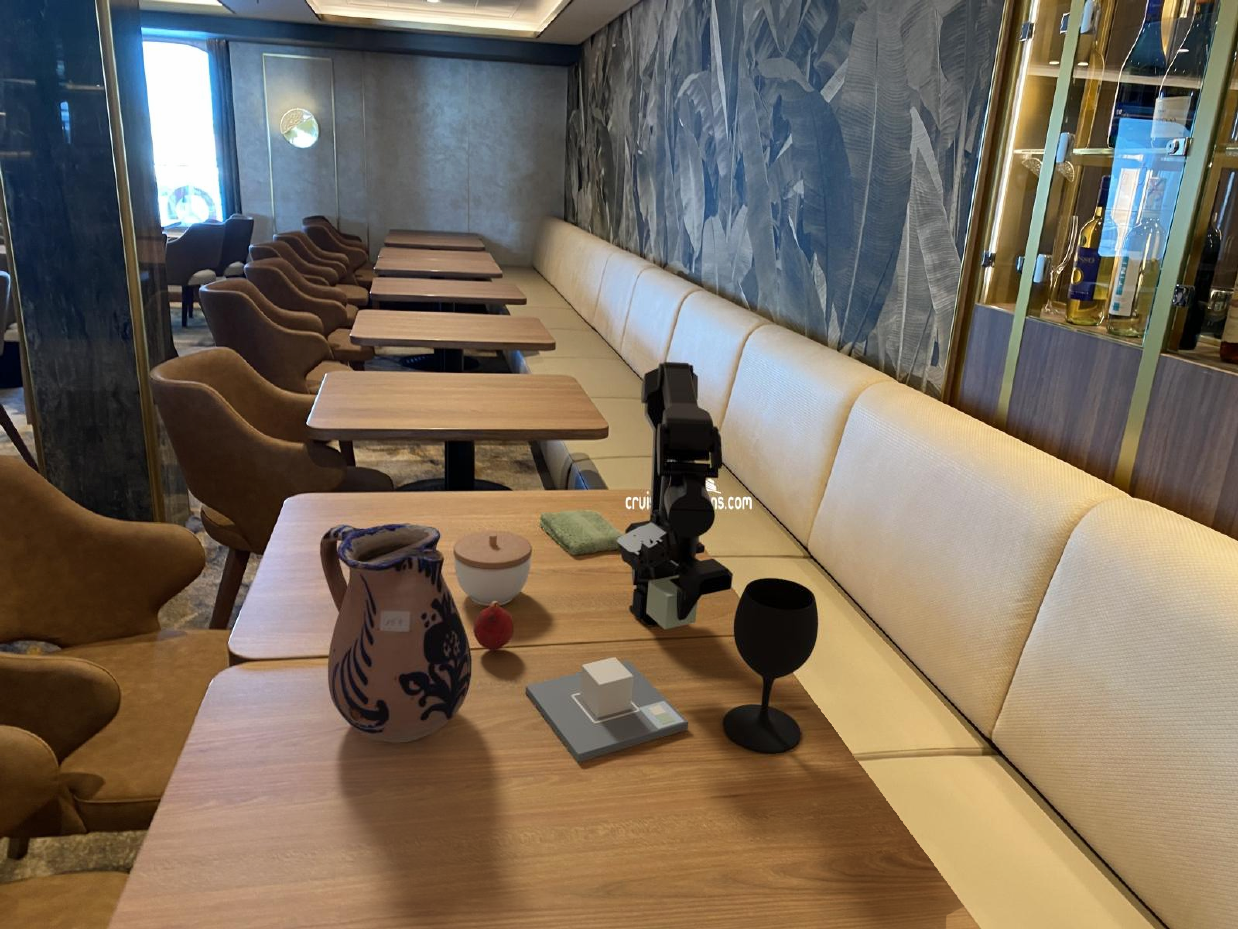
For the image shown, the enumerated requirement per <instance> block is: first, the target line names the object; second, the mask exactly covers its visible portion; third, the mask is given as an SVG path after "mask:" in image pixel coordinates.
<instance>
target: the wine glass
mask: <svg viewBox="0 0 1238 929" xmlns="http://www.w3.org/2000/svg"><path fill="white" fill-rule="evenodd" d="M818 632H819V613H818V606H817V600H816V596H815V594H814V593H813V591H812V590H811V589H809V588H808V587H806V586H805V585H802V584H801V583H798V582H796V581H792V580H789V579H783V578H776V577H764V578H758V579H755V580H751V581H750V582H749V583H747V585H746V586H745V588H744V589H743V591H742V593H741V596H740V598H739V601H738V603H737V607H736V611H735V614H734V620H733V638H734V643H735V646H736V649H737V651H738V653H739V656H740V657H741V658H742V661H744V662H745V664H746V665H747V666H748V667H749V668H750V669H751V670H752V671H753V672H755V673H756V674H757V675H759V676H760V677H762V694H761V695H762V696H761V700H760V701H761V702H760V704H756V703H755V704H754V703H750V704H748V703H747V704H742V705H738V706H735V707H733V708H731V709H729V710H728V711H727V712H726V713H725V715H724V717H723V718H722V729H723V731H724V735H725V736H726V737H727V738H728V739H729V740H730V741H731V742H732V743H734V744H735V745H736V746H737V747H740V748H741V749H744V750H746V751H750V752H753V753H757V754H762V755H780V754H784V753H788V752H789V751H790V752H791V750H793V749H795V748H796V747H797V746H798V745H799V744H800V741H801V740H802V729H801V727H800V725H799V724H798V723H797V721H796V720H795V719H794V718H793V717H792V716H791V715H790V714H788V713H786V712H785V711H782V710H781V709H779V708H775V707H773V706H769V704H770V697H771V692H772V687H773V684H774V681H775V680H777V679H781V678H783V677H786V676H788V675H791V674H793V673H794V672H796V671H797V670H799V669H801V668H802V666H803V665H804V664H805V663H806V662H807V661H808V660H809V658H810V657H811V655H812V653H813V651H814V649H815V647H816V643H817V640H818Z"/></svg>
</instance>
